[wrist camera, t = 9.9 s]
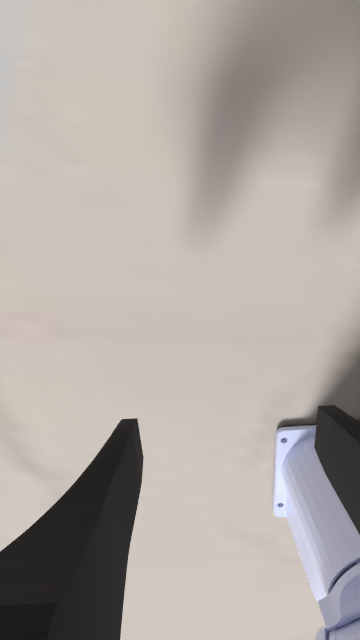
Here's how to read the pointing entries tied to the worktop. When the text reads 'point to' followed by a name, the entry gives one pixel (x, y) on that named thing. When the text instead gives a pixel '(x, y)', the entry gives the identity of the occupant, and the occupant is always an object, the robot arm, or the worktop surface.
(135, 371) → the worktop surface
